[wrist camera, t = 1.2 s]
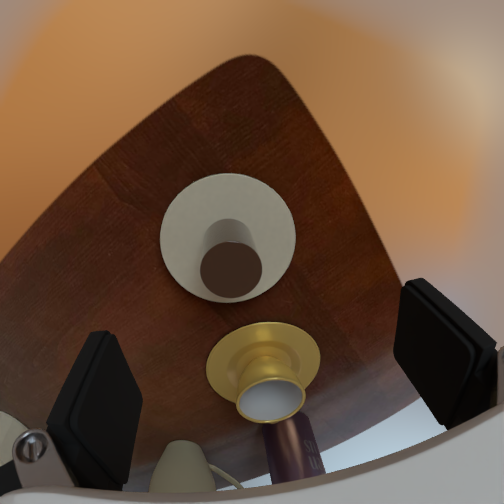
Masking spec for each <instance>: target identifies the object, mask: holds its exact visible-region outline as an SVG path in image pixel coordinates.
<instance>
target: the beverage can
mask: <svg viewBox="0 0 504 504" xmlns="http://www.w3.org/2000/svg"><path fill="white" fill-rule="evenodd" d="M262 431H263V437H264V443H265V448H266V454H267V459H268V465H269V471H270V476H271V481H272V485H273V484H279V483H285V482H290V481H296V480H300V479H305V478H310V477H314V476H319V475H323V474H326V472H325V468H324V465H323V462H322V459H321V456H320V453H319V449H318V446H317V443H316V440H315V437H314V434H313V431H312V427H311V424H310V421H309V418H308V417H307V416H306V415H305V414H304V413H302V412H300V411H298V412H296V413H295V414H294V415H292V416H291V417H289V418H287V419H284V420H282V421H278V423H275V424H270V423H264V424H263V427H262Z"/></svg>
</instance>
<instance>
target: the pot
mask: <svg viewBox="0 0 504 504" xmlns="http://www.w3.org/2000/svg"><path fill="white" fill-rule="evenodd" d="M26 430H29V429H27V428H26V427H25V426H24V425H23V424H22V423H20V422H19V421H18V420H16V419H15V418H13V417H12V416H10V415H8V414H6V413H4V412H2V411H0V466H2V465H4V464H6V463H7V462H9V461H11V460H13V457H12V447H13V444H14V442H15V440H16V438H17V437H18V436H19V435H20V434H22V433H23V432H25V431H26Z"/></svg>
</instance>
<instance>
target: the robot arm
mask: <svg viewBox="0 0 504 504" xmlns="http://www.w3.org/2000/svg"><path fill="white" fill-rule="evenodd" d="M496 343H497V342H496V341H495V340H493V339H492V338H491V337H490V336H489V335H488V334H487V333H486V332H485V331H484V330H483V329H482V328H480V326H478V325H477V324H476V323H475V322H474V321H473V320H472V319H471V318H469V317H468V316H467V315H466V314H465V313H464V312H463V311H462V310H460V309H459V308H458V307H457V306H456V305H455V304H454V303H452V302H451V301H450V300H449V299H448V298H447V297H445V296H444V295H443V294H442V293H441V292H439V291H438V290H437V289H436V288H434V287H433V286H432V285H431V284H430V283H429V282H427V281H426V280H425V279H423V278H418V279H414V280H409V281H407V282H406V283H405V286H403V287H402V288H401V294H400V303H399V312H398V320H397V328H396V335H395V342H394V348H393V354H394V357H395V359H396V361H397V362H398V364H399V365H400V367H401V368H402V370H403V371H404V372H405V374H406V375H407V377H408V378H409V380H410V381H411V383H412V384H413V386H414V387H415V388H416V390H417V391H418V393H419V394H420V396H421V397H422V399H423V400H424V402H425V403H426V405H427V406H428V407H429V409H430V411H431V412H432V414H433V415H434V417H435V418H436V420H437V421H438V423H439V424H440V425H444V426H445V427H446V429H447V430H448V431H446V432H443V433H441V434H439V435H437V436H435V437H432V438H430V439H428V440H426V441H423V442H421V443H419V444H416V445H414V446H411V447H409V448H406V449H403V450H401V451H398V452H396V453H393V454H390V455H387V456H384V457H381V458H379V459H375V460H372V461H369V462H366V463H363V464H360V465H356V466H353V467H349V468H346V469H342V470H339V471H335V472H331V473H327V474H323V475H319V476H314V477H310V478H305V479H300V480H296V481H290V482H285V483H279V484H273V485H267V486H260V487H253V488H244V489H235V490H226V491H212V492H192V493H148V492H124V491H122V488H123V484H126V483H127V482H128V477H129V471H130V465H131V460H132V454H133V448H134V443H135V438H136V433H137V427H138V422H139V418H140V413H141V408H142V403H143V399H142V394H141V392H140V389H139V387H138V385H137V383H136V381H135V379H134V377H133V375H132V373H131V370H130V368H129V366H128V364H127V361H126V359H125V357H124V355H123V352H122V350H121V348H120V345H119V343H118V340H117V338H116V336H115V335H114V334H111V333H110V332H109V331H107V330H105V331H94V332H91V333H90V334H89V336H88V338H87V340H86V342H85V344H84V345H83V347H82V349H81V351H80V353H79V355H78V357H77V359H76V361H75V363H74V365H73V367H72V369H71V371H70V373H69V375H68V377H67V379H66V381H65V383H64V385H63V387H62V389H61V391H60V393H59V395H58V397H57V400H56V402H55V404H54V406H53V408H52V411H51V413H50V415H49V417H48V419H47V422H46V423H47V425H48V427H47V430H46V431H45V430H43V429H39V428H33V429H29V430H26V431H25V432H23V433H22V434H20V435H19V436H18V437H17V438H16V440H15V442H14V444H13V447H12V457H13V460H11V461H9V462H7V463H6V464H4V465H2V466H0V504H504V346H503V347H501V348H500V350H499V351H497V350H496V349H495V346H496Z"/></svg>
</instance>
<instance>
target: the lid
mask: <svg viewBox="0 0 504 504" xmlns="http://www.w3.org/2000/svg"><path fill="white" fill-rule="evenodd" d="M295 238H296V234H295V226H294V222H293V218H292V215H291V213H290V211H289V209H288V207H287V205H286V204H285V202H284V201H283V200H282V198H281V197H280V196H279V195H278V194H277V193H276V192H275V191H274V190H273V189H272V188H271V187H269V186H268V185H267V184H265V183H263V182H262V181H260V180H258V179H256V178H253V177H250V176H247V175H243V174H237V173H220V174H214V175H210V176H207V177H204V178H201V179H199V180H197V181H195V182H193V183H192V184H190V185H189V186H187V187H186V188H185V189H183V190H182V191H181V192H180V193H179V194H178V195H177V196H176V198H175V199H174V200H173V201H172V203H171V204H170V206H169V208H168V209H167V211H166V214H165V216H164V218H163V222H162V225H161V231H160V247H161V252H162V256H163V260H164V262H165V264H166V267H167V268H168V270H169V272H170V273H171V275H172V276H173V277H174V279H175V280H176V281H177V282H178V283H179V284H180V285H181V286H182V287H184V288H185V289H186V290H187V291H189V292H191V293H192V294H194V295H196V296H198V297H201V298H203V299H206V300H210V301H215V302H224V303H230V302H239V301H244V300H247V299H251V298H253V297H256V296H258V295H260V294H262V293H263V292H265V291H267V290H268V289H269V288H271V287H272V286H273V285H274V284H275V283H276V282H277V281H278V280H279V279H280V278H281V277H282V275H283V274H284V273H285V271H286V269H287V268H288V266H289V264H290V262H291V259H292V256H293V253H294V248H295Z"/></svg>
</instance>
